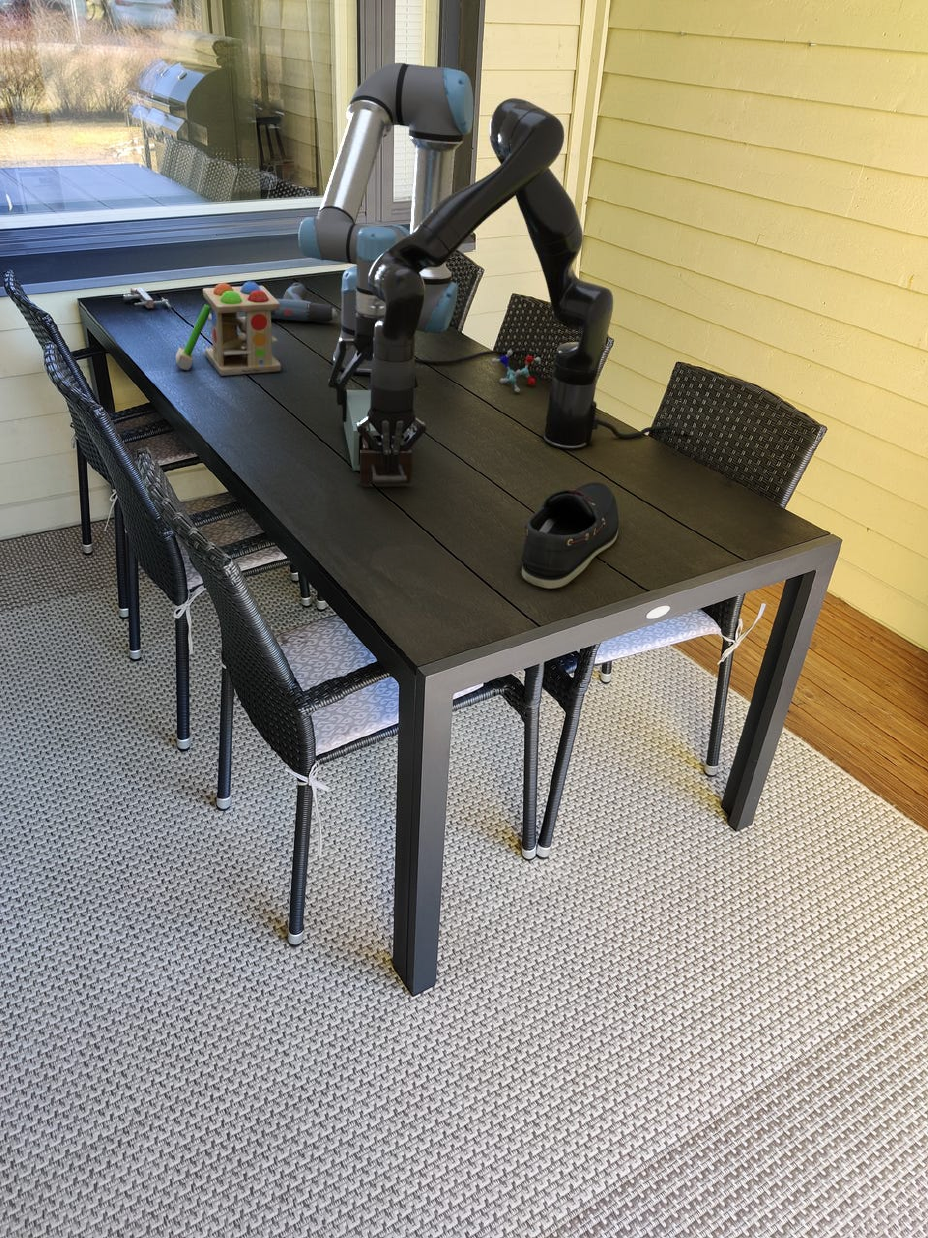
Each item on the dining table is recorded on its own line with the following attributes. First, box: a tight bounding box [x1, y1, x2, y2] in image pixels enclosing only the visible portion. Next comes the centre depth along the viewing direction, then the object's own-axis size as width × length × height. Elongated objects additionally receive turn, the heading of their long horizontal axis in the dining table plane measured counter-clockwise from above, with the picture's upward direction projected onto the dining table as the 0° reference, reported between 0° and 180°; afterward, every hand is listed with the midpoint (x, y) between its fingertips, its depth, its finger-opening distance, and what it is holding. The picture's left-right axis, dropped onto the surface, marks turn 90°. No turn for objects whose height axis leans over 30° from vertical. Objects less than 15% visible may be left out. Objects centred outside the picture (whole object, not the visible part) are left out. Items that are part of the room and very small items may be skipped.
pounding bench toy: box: [174, 281, 282, 377], centre depth 225 cm, size 23×14×18 cm, turn 116°
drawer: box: [359, 435, 413, 485], centre depth 188 cm, size 25×10×6 cm, turn 11°
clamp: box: [122, 287, 173, 309], centre depth 261 cm, size 15×2×10 cm
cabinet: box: [343, 389, 411, 472], centre depth 197 cm, size 20×11×8 cm, turn 11°
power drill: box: [271, 282, 338, 322], centre depth 265 cm, size 5×19×20 cm
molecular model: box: [491, 349, 541, 394], centre depth 232 cm, size 12×10×10 cm
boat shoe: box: [520, 481, 620, 590], centre depth 170 cm, size 13×33×10 cm, turn 147°
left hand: (371, 419), depth 203 cm, fingers closed on cabinet, 11 cm apart
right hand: (389, 470), depth 179 cm, fingers closed
